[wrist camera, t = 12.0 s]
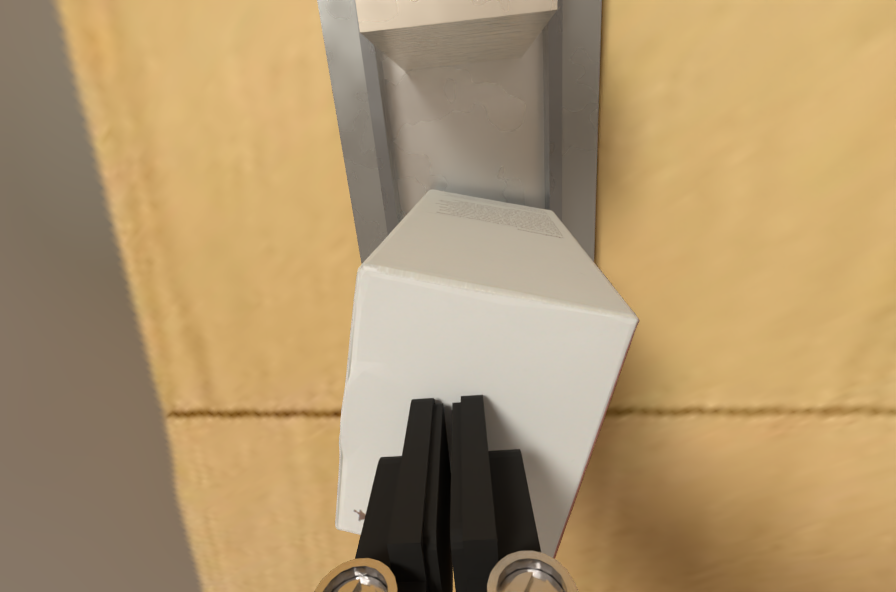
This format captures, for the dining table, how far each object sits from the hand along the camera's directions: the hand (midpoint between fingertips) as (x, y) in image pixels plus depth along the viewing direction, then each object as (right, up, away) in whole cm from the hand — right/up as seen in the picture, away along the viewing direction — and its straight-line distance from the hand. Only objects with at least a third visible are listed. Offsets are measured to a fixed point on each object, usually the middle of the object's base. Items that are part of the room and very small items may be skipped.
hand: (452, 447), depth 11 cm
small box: (+1, +5, +12) cm, 13 cm away
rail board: (+1, +10, +14) cm, 17 cm away
